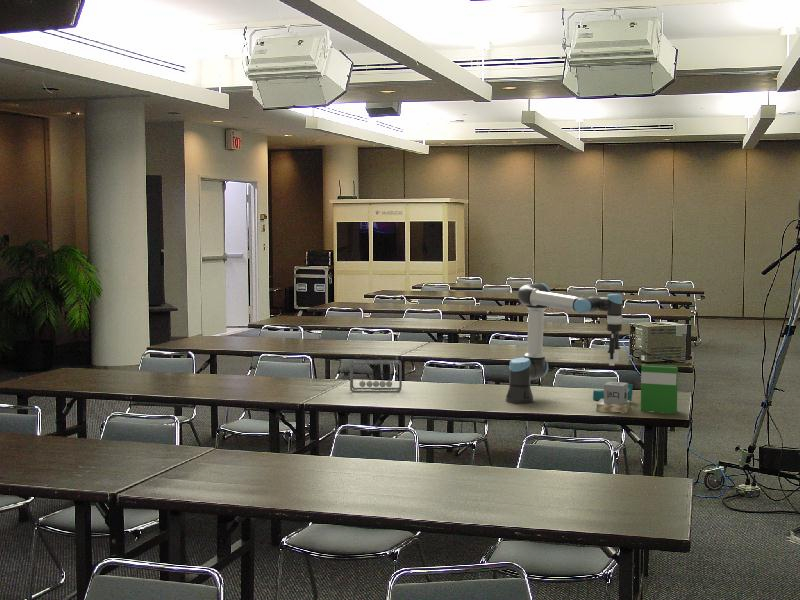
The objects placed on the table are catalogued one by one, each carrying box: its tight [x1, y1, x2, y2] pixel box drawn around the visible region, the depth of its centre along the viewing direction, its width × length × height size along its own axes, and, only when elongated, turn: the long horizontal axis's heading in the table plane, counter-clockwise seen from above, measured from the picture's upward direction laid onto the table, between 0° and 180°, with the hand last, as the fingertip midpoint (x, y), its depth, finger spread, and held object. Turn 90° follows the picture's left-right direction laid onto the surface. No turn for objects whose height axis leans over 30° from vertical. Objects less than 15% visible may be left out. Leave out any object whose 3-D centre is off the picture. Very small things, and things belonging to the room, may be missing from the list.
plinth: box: [595, 399, 631, 414], centre depth 493 cm, size 15×15×4 cm
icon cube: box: [603, 381, 629, 405], centre depth 492 cm, size 10×10×10 cm
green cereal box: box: [640, 363, 679, 414], centre depth 488 cm, size 18×7×24 cm, turn 68°
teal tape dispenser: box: [592, 383, 634, 402], centre depth 516 cm, size 18×11×10 cm, turn 40°
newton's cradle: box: [349, 359, 403, 393], centre depth 549 cm, size 30×10×18 cm, turn 88°
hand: (613, 363), depth 491 cm, fingers open, 13 cm apart
